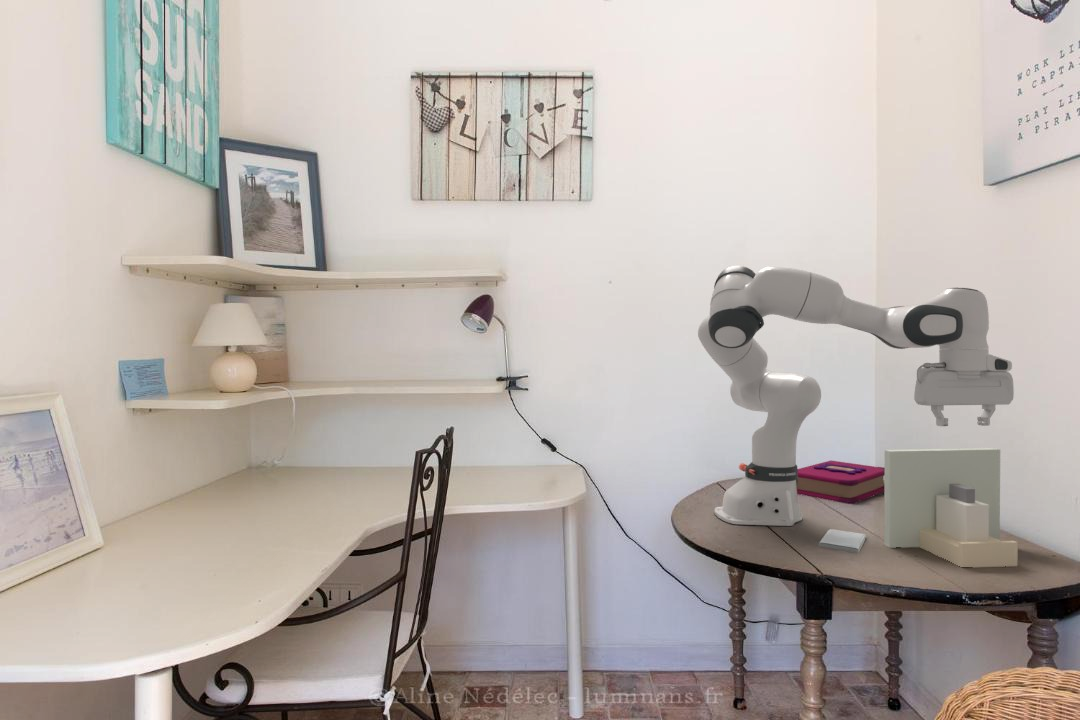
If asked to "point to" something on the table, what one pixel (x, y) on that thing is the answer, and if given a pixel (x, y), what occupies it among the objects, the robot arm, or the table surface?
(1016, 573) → the table surface
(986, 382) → the robot arm
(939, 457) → the board
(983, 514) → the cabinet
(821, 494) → the book
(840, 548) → the hard drive
